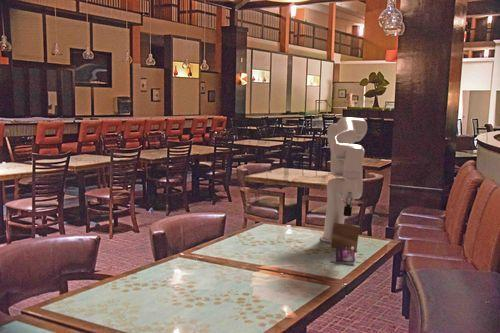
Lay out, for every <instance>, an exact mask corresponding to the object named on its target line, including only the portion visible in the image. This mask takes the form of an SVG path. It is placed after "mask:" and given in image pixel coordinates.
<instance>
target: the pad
mask: <svg viewBox="0 0 500 333" xmlns="http://www.w3.org/2000/svg"><path fill="white" fill-rule="evenodd" d="M351 259H352V258H350V257H348V258H346V259H343V261H351ZM353 261H354V259H353ZM330 263H332V264H340V265H345V266H346V265H347V266H352V267H353V266H355V262H336V255H335V256H334V255H331V257H330Z"/></svg>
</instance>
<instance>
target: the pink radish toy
mask: <svg viewBox="0 0 500 333" xmlns="http://www.w3.org/2000/svg"><path fill="white" fill-rule="evenodd" d="M342 247H345V250H342ZM350 247H351V248H350ZM347 249H348V250H350V249H351V250H352V251H348V250H347ZM334 252H335V254H334V255H335V256H336V262H354V263H355V262H356V258H355V257H356V256H355V254H356V253H355V251H354V246H335V249H334ZM350 252H351V253H350ZM350 255H351V258H350ZM346 258H350V259H351V261H343V259H346ZM353 259H354V261H353Z"/></svg>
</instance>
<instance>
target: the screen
mask: <svg viewBox="0 0 500 333" xmlns="http://www.w3.org/2000/svg"><path fill="white" fill-rule="evenodd" d="M359 231H360V225H355V224H347V223H344V224H340V223H334V225H333V234H332V243H331V244H330V249H333V250H335V246H354V252H357V249H358V243H359V242H358V241H359V233H360V232H359ZM350 248H351V247H350ZM342 251H350V252H352V250H351V249H350V250H348V249H347V250H345V247H342Z"/></svg>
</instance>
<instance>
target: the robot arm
mask: <svg viewBox="0 0 500 333" xmlns="http://www.w3.org/2000/svg"><path fill="white" fill-rule="evenodd" d="M367 131H368V123H367V121H366V120H365V119H364V118H360V117H348V116H345V117H342V118H339V119H338V121H337V122H336V123H331V124H330V125H328V127H327V132H326V134H327V135H326V136H327V142H328V145H329V146H328V147H329V149H330V168H329V169H330V174H331V175H332V176H333V177H334V178H331V179H329V180H328V181H327V184H326V194H327V195H326V196H327V197H326V198H327V199H326V208H325V209H326V211H325V217H324V227H323V234H322V235H320V237H319V239H320V240H321V241H323V242H325V243H332V234H333V225H334V223H340V224H345V219H346V217H352V211H353V209H352V208H353V203H354V201H355V200H359V199H360V198H361V197H362V195H363V191H364V190H363V189H364V188H363V187H364V186H363V176H364V175H363V173H364V172H363V171H364V170H363V161H364V157H365V152H366V151H365V149H364V147H363V146H362V145H361V144H356V142H361V140H362V139H363V138H364V137H365V136H366V134H367Z"/></svg>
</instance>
